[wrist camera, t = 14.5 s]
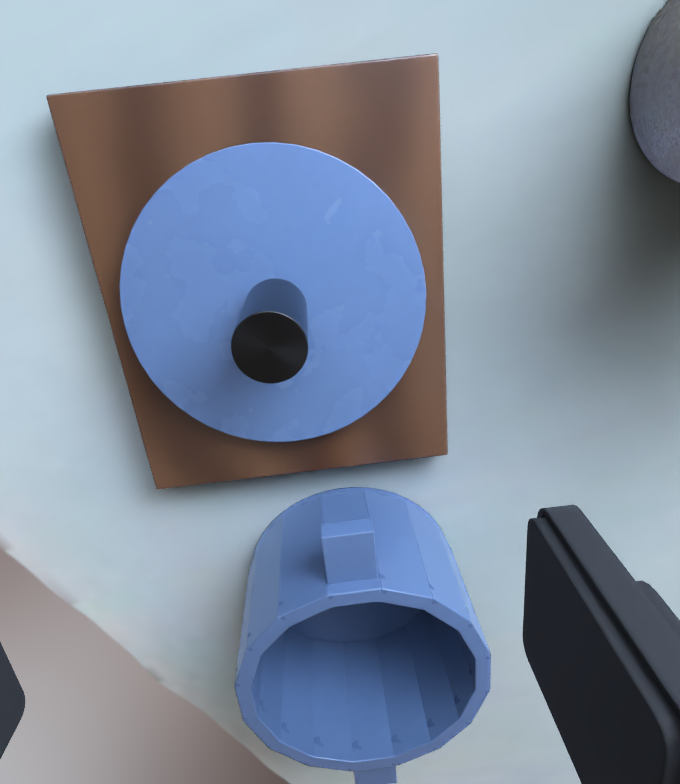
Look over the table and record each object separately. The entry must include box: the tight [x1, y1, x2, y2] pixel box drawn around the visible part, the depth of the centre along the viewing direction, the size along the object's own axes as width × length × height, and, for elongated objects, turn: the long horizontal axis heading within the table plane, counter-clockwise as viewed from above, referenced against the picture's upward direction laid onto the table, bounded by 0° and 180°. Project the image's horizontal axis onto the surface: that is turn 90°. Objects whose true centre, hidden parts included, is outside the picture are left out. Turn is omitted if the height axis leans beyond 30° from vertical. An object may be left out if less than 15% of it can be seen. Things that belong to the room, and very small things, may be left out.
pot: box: [235, 487, 491, 784], centre depth 32 cm, size 13×18×8 cm
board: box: [47, 53, 448, 489], centre depth 27 cm, size 16×19×2 cm
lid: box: [120, 142, 426, 442], centre depth 23 cm, size 14×14×7 cm
